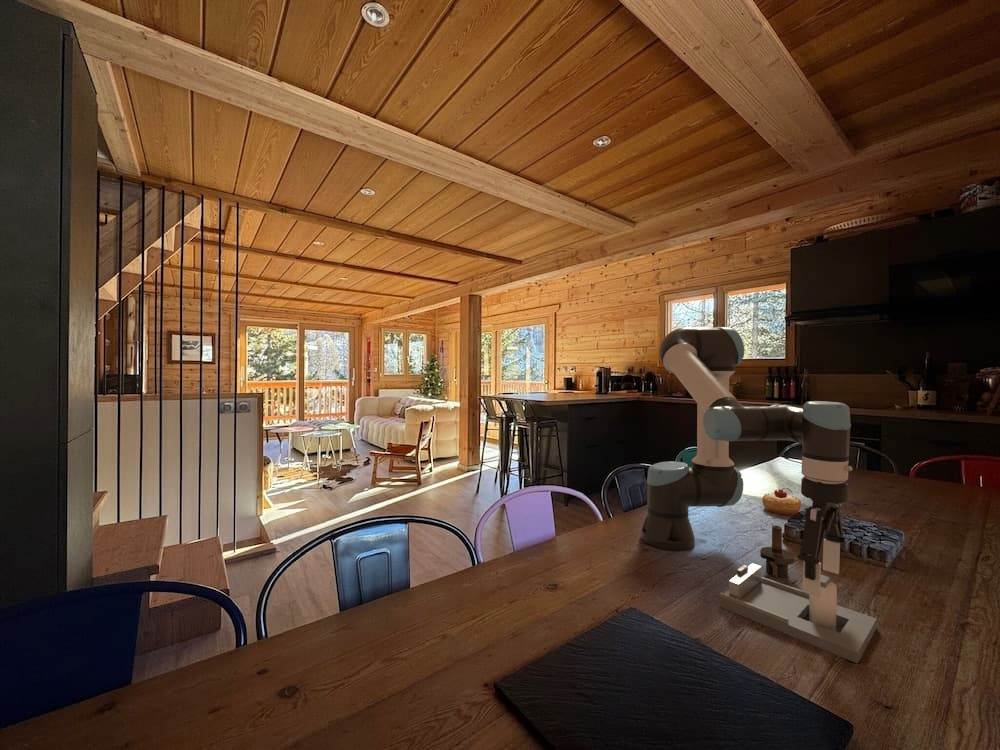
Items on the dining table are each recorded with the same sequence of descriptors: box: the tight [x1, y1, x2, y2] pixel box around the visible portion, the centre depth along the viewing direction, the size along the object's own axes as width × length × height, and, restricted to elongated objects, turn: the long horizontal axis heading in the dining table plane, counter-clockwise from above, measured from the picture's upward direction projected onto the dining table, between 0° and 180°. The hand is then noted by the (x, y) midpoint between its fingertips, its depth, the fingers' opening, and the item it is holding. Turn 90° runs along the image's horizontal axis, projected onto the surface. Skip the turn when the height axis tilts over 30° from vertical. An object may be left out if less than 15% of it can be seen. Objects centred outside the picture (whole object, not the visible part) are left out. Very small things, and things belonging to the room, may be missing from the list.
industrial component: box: [759, 524, 795, 578], centre depth 110 cm, size 9×7×12 cm
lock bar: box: [728, 563, 763, 599], centre depth 98 cm, size 2×13×4 cm, turn 130°
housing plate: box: [718, 576, 878, 664], centre depth 91 cm, size 24×16×3 cm, turn 40°
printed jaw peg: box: [808, 574, 838, 632], centre depth 87 cm, size 4×4×10 cm
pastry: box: [762, 487, 802, 516], centre depth 157 cm, size 12×12×9 cm
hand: (821, 582), depth 87 cm, fingers open, 13 cm apart
